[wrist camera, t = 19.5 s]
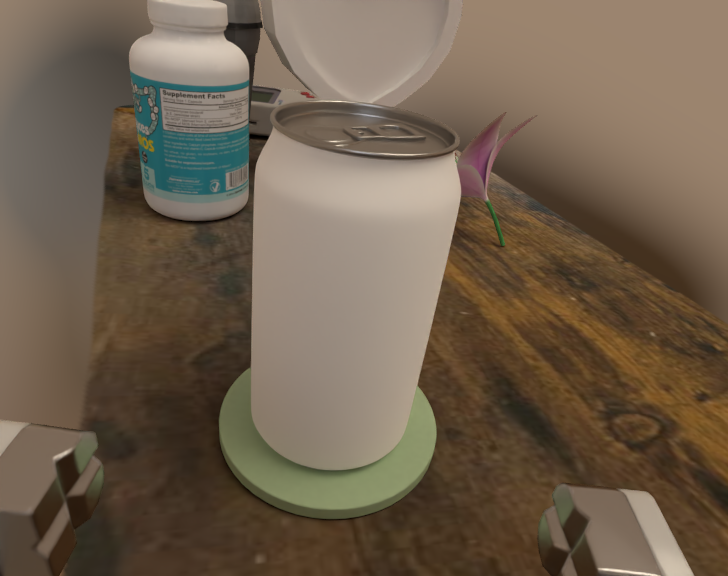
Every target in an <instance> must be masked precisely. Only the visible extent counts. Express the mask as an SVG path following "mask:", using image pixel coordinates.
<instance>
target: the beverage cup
mask: <svg viewBox="0 0 728 576" xmlns="http://www.w3.org/2000/svg"><path fill="white" fill-rule="evenodd" d="M213 1H218V2H221V3H224V4H226V5H227V16H228V25H227V26H226V30H224V36H225V38H226V40H227V41H229V42H231V43H233V44H235V45H236V46H237V47H239V48H240V49H241V50H242V51H243V53H244V54H245V56H246V58H247V60H248V63H249V120H250V109H251V98H252V87H253V76H254V65H255V54H256V53H257V50H258V45H259V40H260V28H262V27H263V26H262V21H261V19H260V18H261V17H260V8H259V3H258V0H213Z"/></svg>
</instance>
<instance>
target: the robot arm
mask: <svg viewBox="0 0 728 576" xmlns="http://www.w3.org/2000/svg"><path fill="white" fill-rule="evenodd" d="M98 446H99V445H98V442H97V438H96V434H95V432H90V431H83V430H76V429H68V428H61V427H54V426H47V425H39V424H32V423H23V422H15V421H7V420H0V576H59V575H60V573H61V572H62V570H63V568H64V566H65V564H66V562H67V561H68V559H69V557H70V555H71V553H72V551H73V549H74V548H75V546H76V544H77V541H76V536H75V531H74V530H75V529H76V528H77V527H79V526H80V525H82V524H83V523H84V522H86V521H87V520H89V519H90V518H91V516H92V514H93V512H94V510H95V508H96V506H97V504H98V502H99V499H100V495H101V492H102V489H103V485H104V469H103V464H102V462H101V461H99V460H98V459H97V458H96V457H95V456H94V455H93V454H94V453H95V451H96V449H97V447H98ZM552 498H553V501H554V504H555V505H554V506H552V507H550V508H548V509H547V510H545V511H544V512H543V514H542V517H541V519H540V521H539V526H538V537H537V539H538V548H539V554H540V558H541V562H542V566H543V567H544V568H545V569H546V570H547V571H548V573H549V574H550V575H551V576H694V574H693V573H692V571H691V569H690V567H689V565H688V563H687V561H686V559H685V557H684V555H683V553H682V551H681V550H680V548H679V546H678V544H677V542H676V540H675V538H674V536H673V534H672V532H671V530H670V528H669V526H668V525H667V523H666V521H665V519H664V517H663V515H662V513H661V511H660V509H659V507H658V505H657V503H656V502H655V500H654V498H653V497H652V496H651V495H650V494H649V493H648V492H644V491H635V490H626V489H616V488H613V487H603V486H592V485H582V484H571V483H561V484H559V485H558V486H556V488H555V490H554V492H553V494H552Z"/></svg>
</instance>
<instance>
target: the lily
mask: <svg viewBox="0 0 728 576" xmlns="http://www.w3.org/2000/svg"><path fill="white" fill-rule="evenodd" d="M505 114H506V112H505V113H503V114H502V115H500V116H499V117H498V118H497V119H495V120H494V121H493V122H492V123H490V124H489V125H488V126H487V127H486V128H485V129H484V130H482V131H481V132H480V133H479V134H478V135H477V136H476V137H475V138H474V139H473V140H472V141H471V142H470V143H469V144H468V146H467V147H466V148H465V150H464V151H463V152H462V154H461V156H460V158H459V159H458V158H457V155H456V153H455V156H456V158H457V159H458V162H457V161H456V160H455V162H456V163H457V165H456V166H457V170H458V174H459V179H460V184H461V197H477V198H481V199H483V200H484V201H485V203H486V205H487V207H488V208H489V211H490V213H491V215H492V218H493V220H494V224H495V227H496V230H497V233H498V236H499V240H500V243H501V246H504V245H505V243H504V239H503V236H502V232H501V229H500V226H499V223H498V220H497V217H496V214H495V212H494V210H493V207H492V205H491V203H490V201H489V199H488V196H487V184H488V179H489V175H490V171H491V168H492V165H493V162H494V160H495V158H496V155H497V153H498V152H499V150H500V149H501V147H502V146H503V145H504V144H505V142H507V141H508V139H510V138H511V137H512V136H513V135H514V134H515V133H516V132H517V131H518V130H520V129H521V128H522V127H523V126H525V125H526V124H527V123H528V122H530V121H531V120H532V119H533V118H535V117H536V116H534V117H531V118H529V119H528V120H526V121H524V122H523V123H521V124H520V125H518V126H517V127H515V128H514V129H512V130H511V131H509V132H508V133H507V134H506V135H504V136H503V137H502V138H501V140H499V142H498V143H497V140H498V135H499V129H500V125H501V122H502V119H503V117H504V116H505ZM485 191H486V193H485Z"/></svg>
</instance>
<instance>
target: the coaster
mask: <svg viewBox="0 0 728 576" xmlns="http://www.w3.org/2000/svg"><path fill="white" fill-rule="evenodd" d="M219 439H220V444H221V449H222V452H223V455H224V457H225V460H226V462H227V464H228V466H229V467H230V469H231V470H232V472H233V474H234V475H235V476H236V477H237V478H238V479H239V481H240V482H241V483H242V484H243V485H244V486H245V487H246V488H247V489H249V490H250V491H251V492H252V493H253V494H254V495H256V496H258V497H259V498H261V499H262V500H264V501H265V502H267V503H269V504H271V505H273V506H275V507H277V508H279V509H282V510H285V511H288V512H291V513H293V514H297V515H302V516H306V517H311V518H321V519H346V518H352V517H359V516H363V515H367V514H370V513H374V512H377V511H379V510H382V509H384V508H386V507H388V506H391V505H392V504H394V503H395V502H397V501H399V500H400V499H402V498H403V497H404V496H406V495H407V494H408V493H409V492H410V491H412V490H413V489H414V488H415V486H416V485H417V484H418V483H419V482H420V481H421V479H422V478H423V476H424V474H425V473H426V471H427V470H428V467H429V464H430V462H431V459H432V456H433V453H434V449H435V444H436V423H435V418H434V415H433V411H432V408H431V406H430V404H429V402H428V400H427V398H426V397H425V395H424V394H423V392H422V391H421V390H420V388H419V387H418V386H417V387H416V391H415V395H414V400H413V404H412V407H411V411H410V415H409V419H408V423H407V426H406V429H405V432H404V434H403V436H402V438H401V440H400V441H399V443H398V444H397V445H396V447H395V448H394V449H393V450H392V451H391V452H389V453H388V454H387V455H385V456H384V457H383V458H381V459H379V460H377V461H375V462H373V463H371V464H368V465H365V466H362V467H358V468H354V469H349V470H342V471H325V470H318V469H313V468H309V467H305V466H302V465H300V464H297V463H295V462H293V461H291V460H289V459H287V458H285V457H283V456H282V455H280V454H279V453H277V452H276V451H275V450H273V449H272V448H271V447H270V446H269V445H268V444H267V443H266V441H265V440H264V439H263V438H262V436H261V435H260V434H259V432H258V430H257V429H256V427H255V424H254V422H253V419H252V413H251V367H250V368H249V369H247V370H246V371H245V372H243V373H242V374H241V375H240V376H239V377H238V378H237V379H236V381H235V382H234V383H233V385H232V386H231V387H230V389H229V390H228V392H227V394H226V396H225V398H224V400H223V403H222V406H221V409H220V416H219Z"/></svg>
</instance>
